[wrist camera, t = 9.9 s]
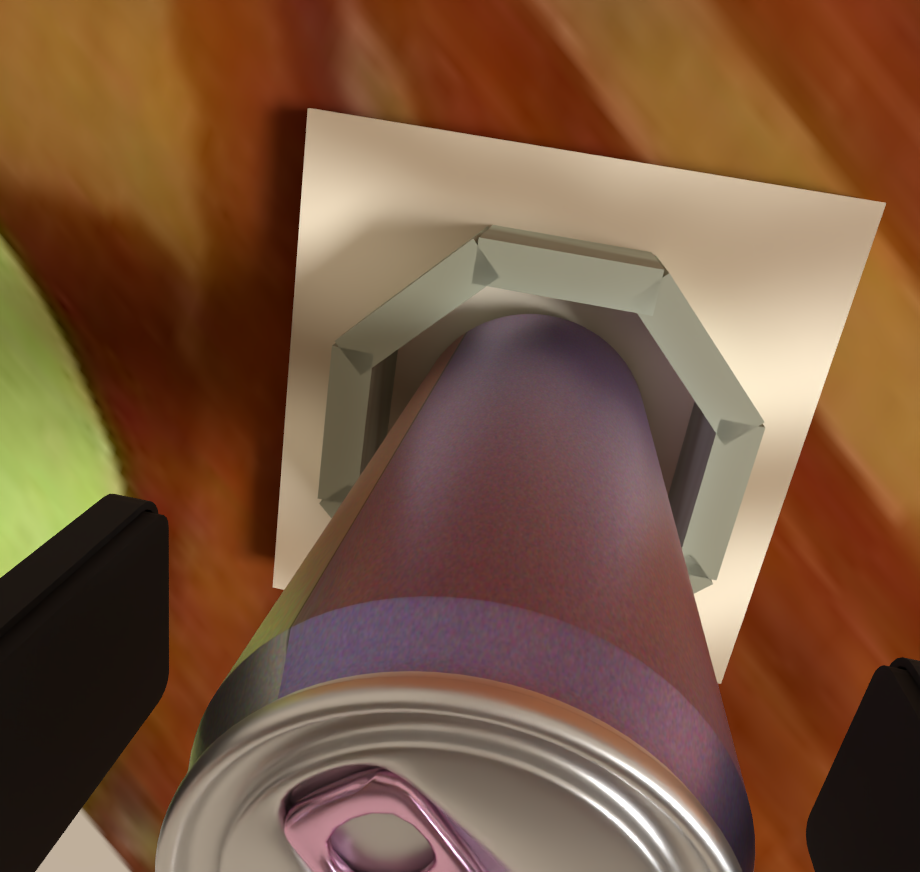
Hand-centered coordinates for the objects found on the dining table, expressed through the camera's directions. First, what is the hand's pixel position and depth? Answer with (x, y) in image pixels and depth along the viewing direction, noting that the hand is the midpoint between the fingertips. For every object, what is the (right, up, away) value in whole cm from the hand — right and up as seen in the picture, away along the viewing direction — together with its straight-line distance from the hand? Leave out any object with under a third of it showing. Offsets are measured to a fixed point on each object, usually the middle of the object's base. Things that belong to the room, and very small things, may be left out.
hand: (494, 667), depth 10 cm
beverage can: (+2, +4, +11) cm, 12 cm away
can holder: (+2, +4, +12) cm, 13 cm away
